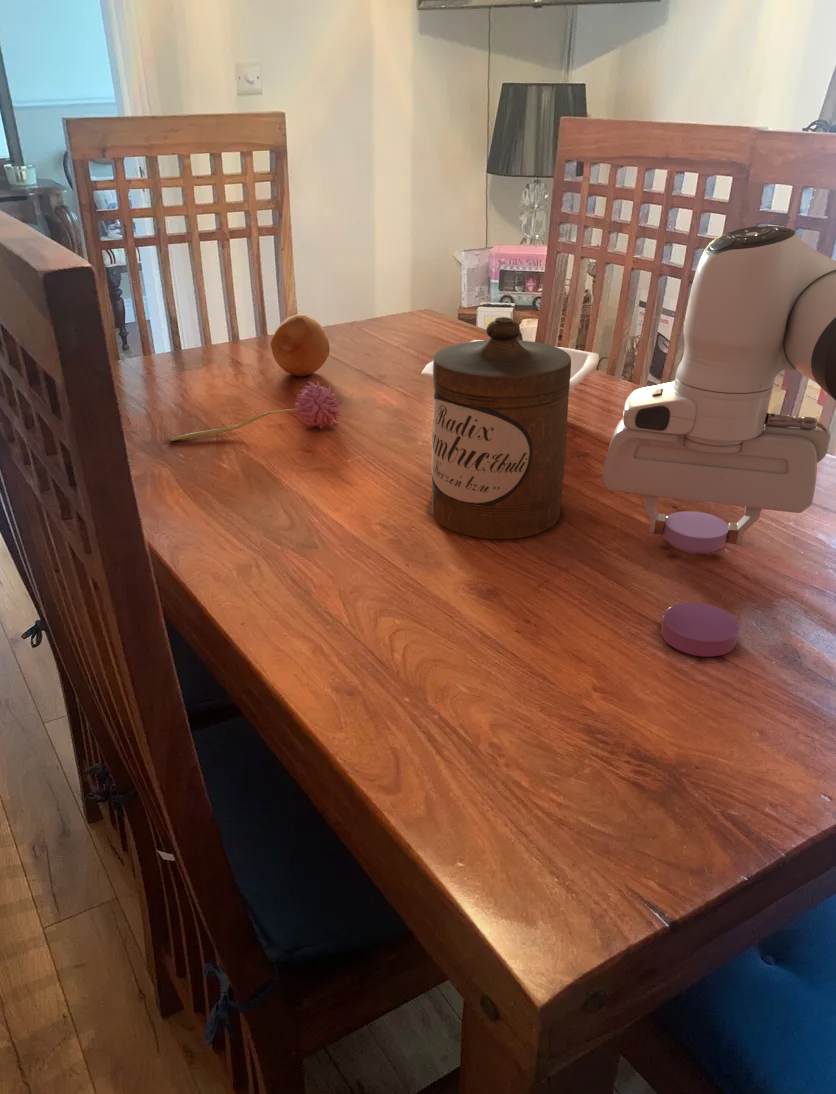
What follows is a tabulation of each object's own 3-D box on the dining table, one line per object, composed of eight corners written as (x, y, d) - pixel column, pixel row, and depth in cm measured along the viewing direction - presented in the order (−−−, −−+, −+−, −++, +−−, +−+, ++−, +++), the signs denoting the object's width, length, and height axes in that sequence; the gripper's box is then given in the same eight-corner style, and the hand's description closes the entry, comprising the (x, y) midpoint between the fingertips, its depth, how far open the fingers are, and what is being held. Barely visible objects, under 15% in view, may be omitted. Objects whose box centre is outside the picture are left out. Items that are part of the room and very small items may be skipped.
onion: (273, 367, 153) (268, 309, 148) (329, 365, 154) (326, 307, 149) (272, 383, 145) (267, 323, 140) (331, 381, 145) (329, 320, 140)
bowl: (603, 407, 132) (609, 351, 128) (557, 457, 115) (563, 395, 110) (469, 388, 141) (471, 336, 136) (408, 433, 123) (408, 374, 119)
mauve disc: (734, 628, 79) (739, 608, 77) (735, 667, 73) (740, 646, 72) (662, 617, 80) (665, 597, 79) (657, 654, 75) (661, 634, 74)
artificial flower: (180, 471, 119) (351, 426, 123) (164, 422, 117) (340, 377, 121) (178, 462, 125) (342, 419, 129) (163, 415, 123) (331, 372, 127)
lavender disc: (725, 533, 92) (729, 515, 91) (725, 560, 87) (729, 541, 86) (663, 525, 94) (666, 507, 93) (659, 551, 89) (662, 533, 88)
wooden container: (405, 514, 100) (404, 320, 89) (484, 477, 109) (492, 297, 98) (507, 554, 91) (520, 345, 80) (584, 510, 100) (606, 316, 89)
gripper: (832, 408, 83) (798, 537, 90) (615, 390, 89) (600, 512, 96) (839, 430, 78) (803, 564, 85) (608, 409, 84) (592, 537, 91)
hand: (693, 536), depth 91 cm, fingers closed on lavender disc, 6 cm apart
